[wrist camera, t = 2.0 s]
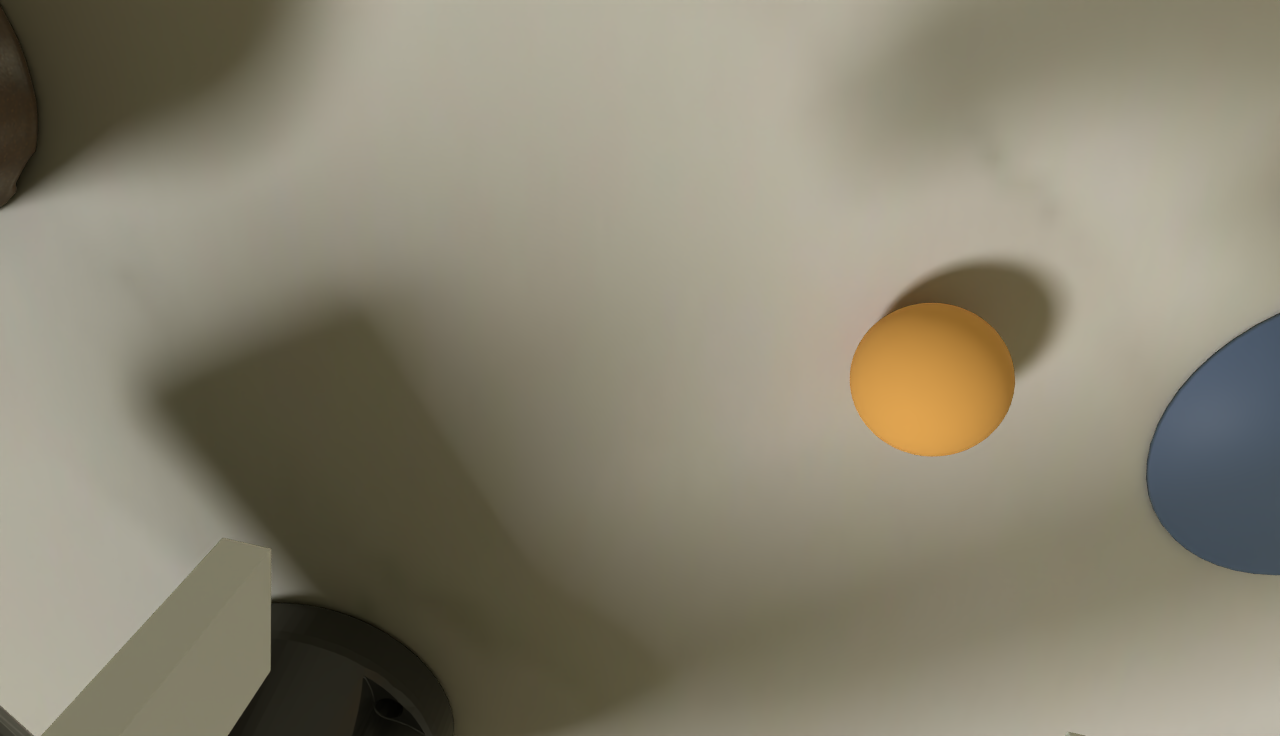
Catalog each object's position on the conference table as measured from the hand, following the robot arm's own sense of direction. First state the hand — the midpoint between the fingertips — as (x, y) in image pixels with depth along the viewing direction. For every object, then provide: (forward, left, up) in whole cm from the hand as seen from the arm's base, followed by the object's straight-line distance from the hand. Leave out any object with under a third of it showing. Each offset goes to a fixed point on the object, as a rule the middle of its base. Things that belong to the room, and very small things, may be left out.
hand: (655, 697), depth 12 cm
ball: (+9, 0, -16) cm, 18 cm away
